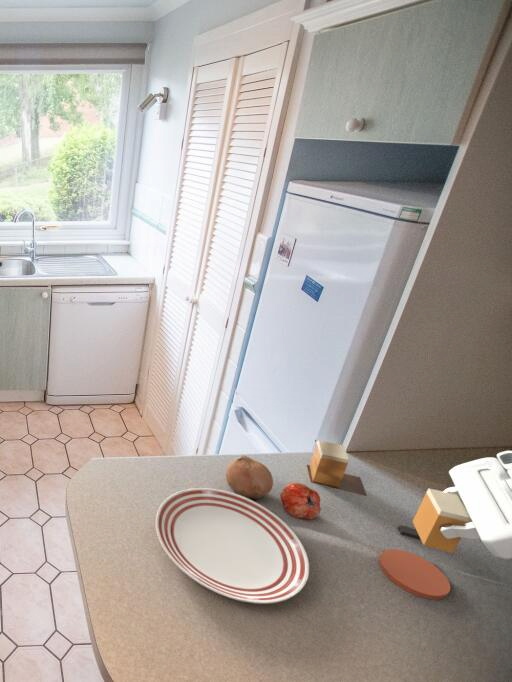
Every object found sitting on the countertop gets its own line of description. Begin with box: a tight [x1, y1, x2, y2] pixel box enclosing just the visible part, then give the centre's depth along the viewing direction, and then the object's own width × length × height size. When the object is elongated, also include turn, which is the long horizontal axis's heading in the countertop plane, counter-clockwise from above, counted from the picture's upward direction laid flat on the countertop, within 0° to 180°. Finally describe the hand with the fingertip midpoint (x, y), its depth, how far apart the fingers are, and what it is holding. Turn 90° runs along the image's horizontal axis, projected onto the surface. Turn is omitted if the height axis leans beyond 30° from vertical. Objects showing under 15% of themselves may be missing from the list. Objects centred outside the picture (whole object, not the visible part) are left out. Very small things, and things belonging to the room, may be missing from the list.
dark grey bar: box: [397, 524, 421, 541], centre depth 95 cm, size 20×2×2 cm, turn 65°
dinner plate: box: [155, 487, 310, 605], centre depth 90 cm, size 28×27×3 cm
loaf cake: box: [306, 439, 368, 497], centre depth 106 cm, size 11×7×9 cm, turn 65°
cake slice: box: [412, 488, 472, 554], centre depth 79 cm, size 4×6×8 cm, turn 155°
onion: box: [225, 454, 274, 501], centre depth 103 cm, size 10×9×10 cm
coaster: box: [378, 548, 451, 600], centre depth 85 cm, size 10×10×1 cm
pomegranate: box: [279, 482, 322, 520], centre depth 98 cm, size 7×7×10 cm
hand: (436, 517), depth 80 cm, fingers closed on cake slice, 6 cm apart
